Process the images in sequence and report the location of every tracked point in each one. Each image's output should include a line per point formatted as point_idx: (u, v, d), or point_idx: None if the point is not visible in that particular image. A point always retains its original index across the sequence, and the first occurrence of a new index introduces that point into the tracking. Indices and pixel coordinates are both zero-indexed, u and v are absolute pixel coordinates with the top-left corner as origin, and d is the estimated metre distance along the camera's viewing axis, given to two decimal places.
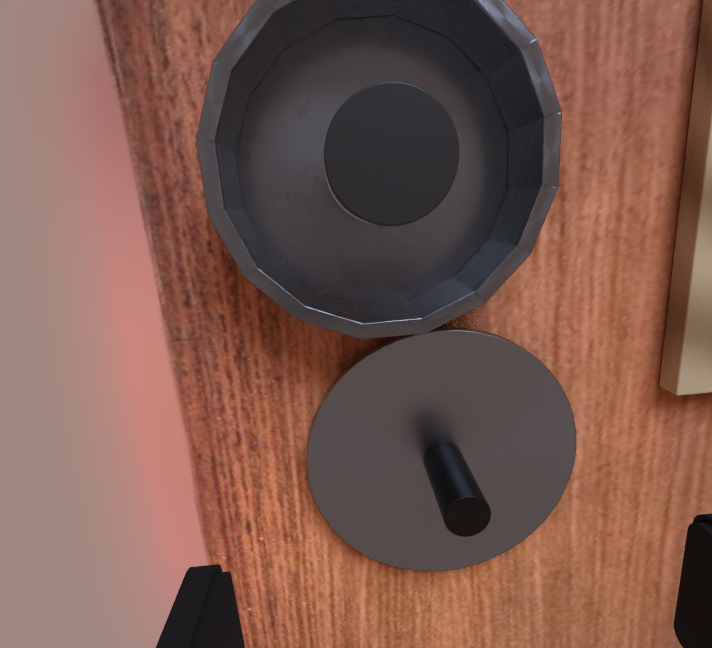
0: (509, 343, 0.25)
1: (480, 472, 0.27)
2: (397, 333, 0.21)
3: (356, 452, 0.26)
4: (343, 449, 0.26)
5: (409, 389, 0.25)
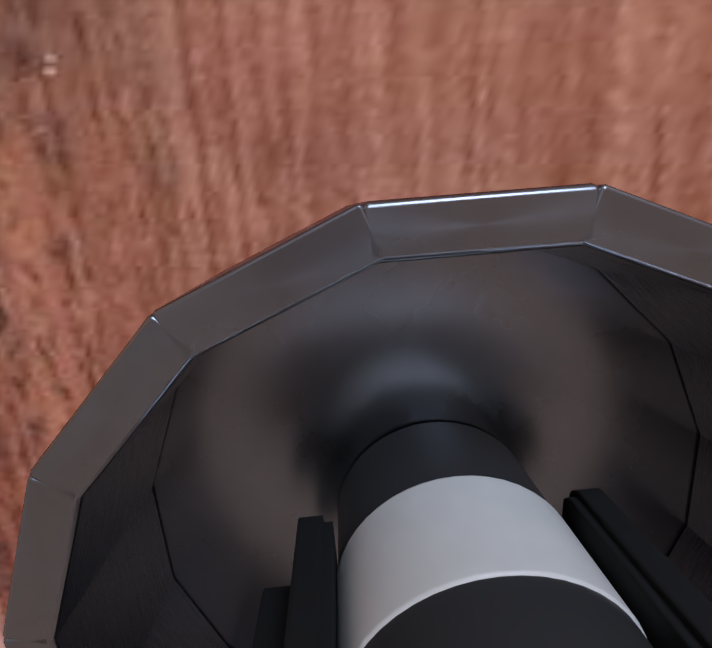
0: None
1: None
2: None
3: None
4: None
5: None
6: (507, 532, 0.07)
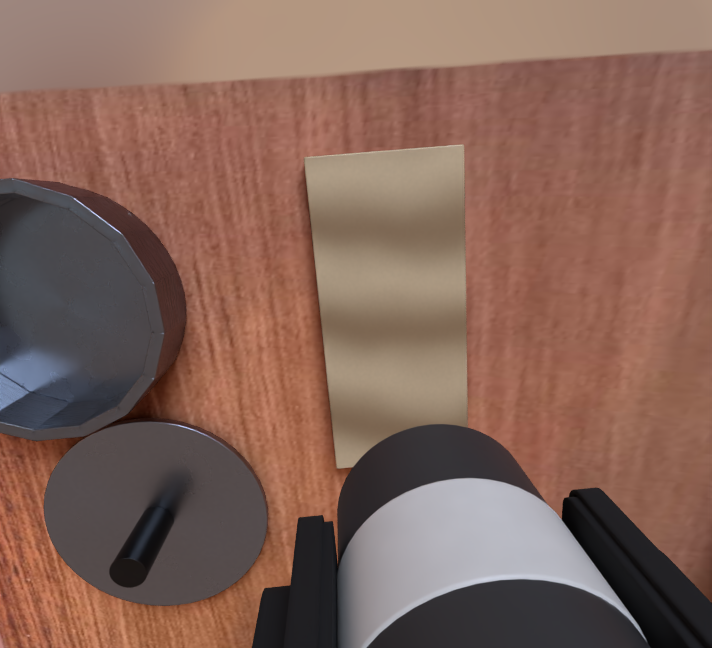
0: (193, 431, 0.31)
1: (190, 528, 0.33)
2: (62, 436, 0.27)
3: (84, 514, 0.33)
4: (73, 512, 0.32)
5: (118, 466, 0.32)
6: (507, 535, 0.07)
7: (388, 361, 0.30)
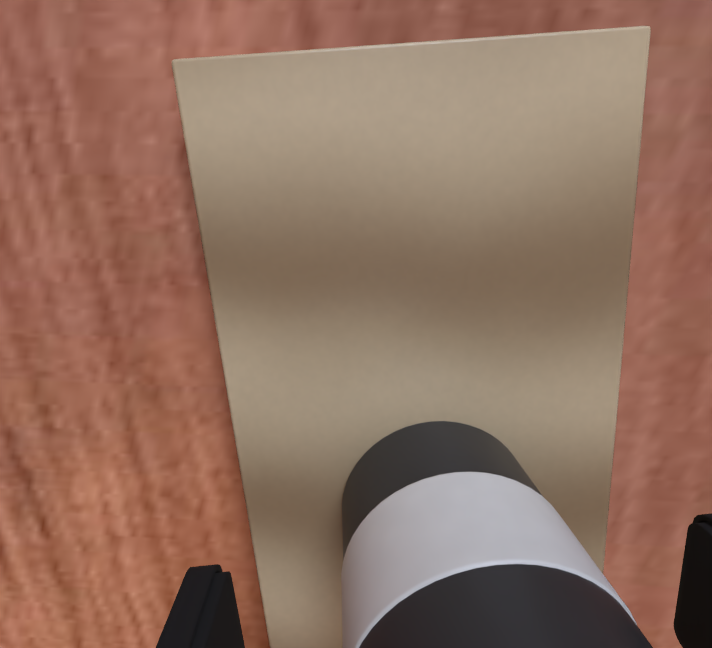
0: None
1: None
2: None
3: None
4: None
5: None
6: (504, 525, 0.07)
7: None
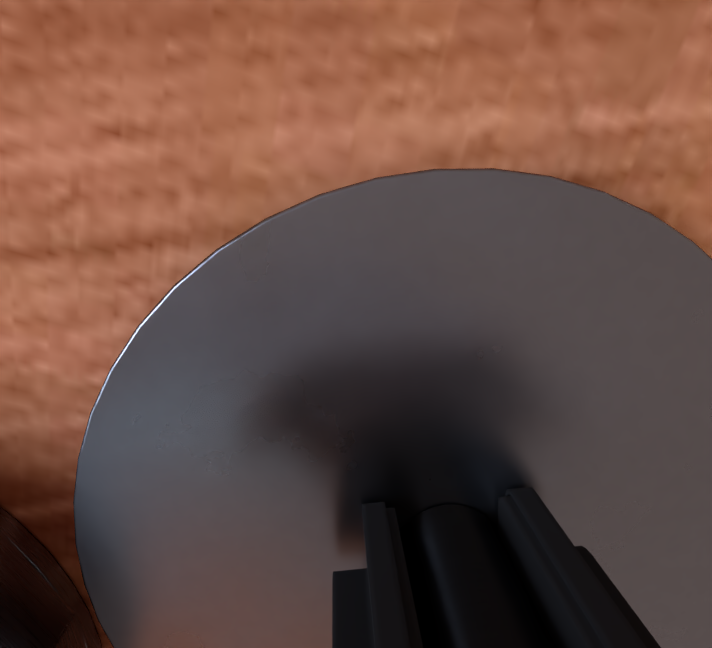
0: (91, 421, 0.09)
1: (493, 454, 0.09)
2: None
3: None
4: None
5: (245, 632, 0.10)
6: None
7: None
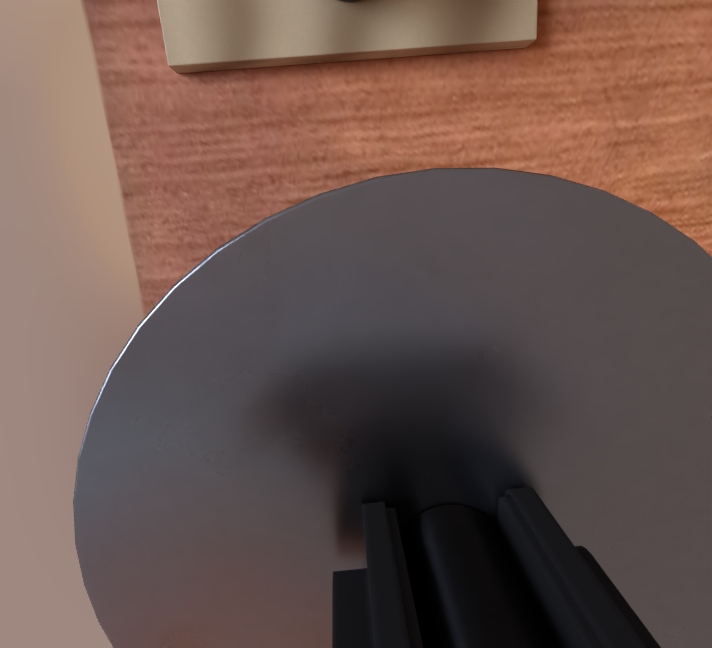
0: (91, 421, 0.09)
1: (494, 454, 0.09)
2: None
3: None
4: None
5: (245, 632, 0.10)
6: None
7: None
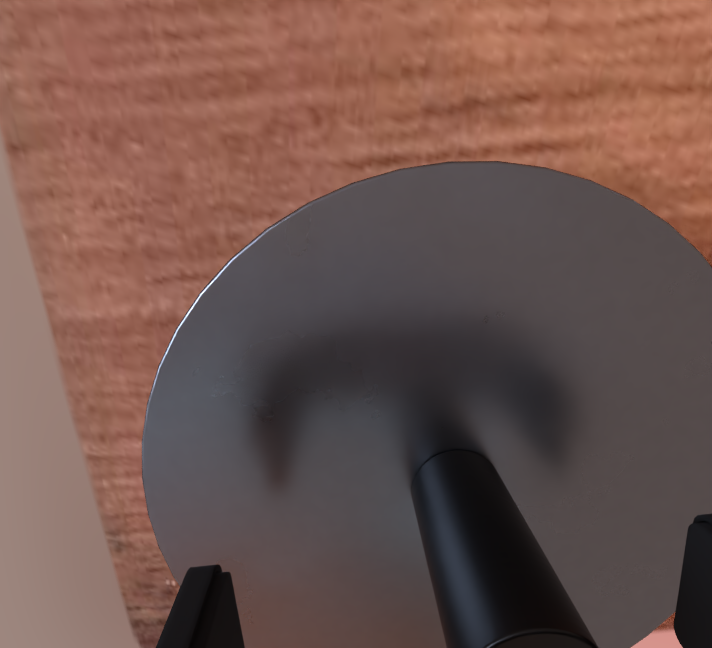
0: (159, 373, 0.10)
1: (496, 407, 0.11)
2: None
3: (420, 640, 0.13)
4: None
5: (282, 560, 0.12)
6: None
7: None
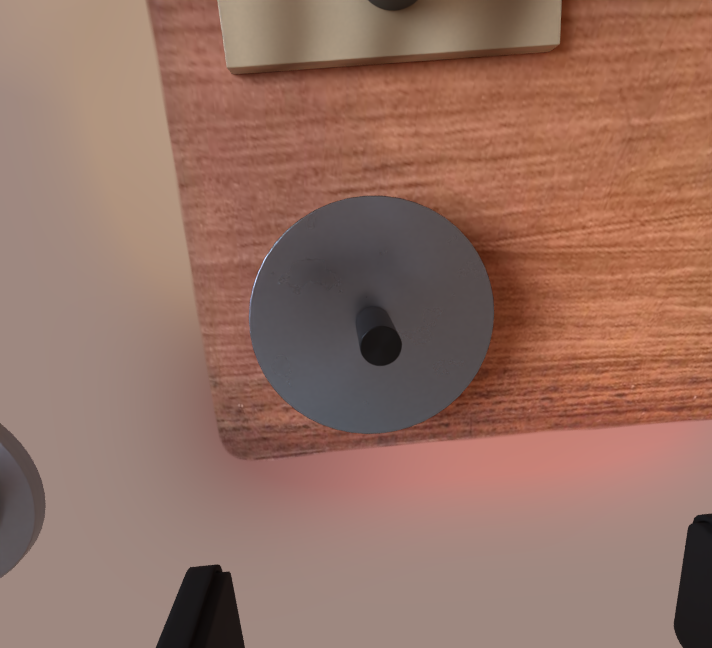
0: (258, 274, 0.28)
1: (387, 288, 0.29)
2: None
3: (362, 396, 0.31)
4: (358, 406, 0.31)
5: (303, 356, 0.30)
6: None
7: None
